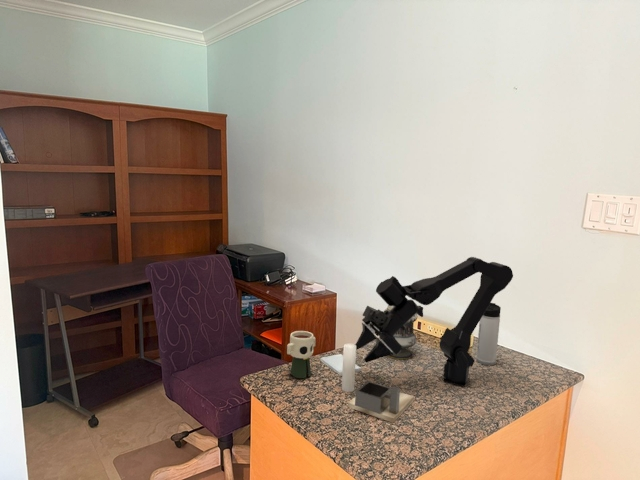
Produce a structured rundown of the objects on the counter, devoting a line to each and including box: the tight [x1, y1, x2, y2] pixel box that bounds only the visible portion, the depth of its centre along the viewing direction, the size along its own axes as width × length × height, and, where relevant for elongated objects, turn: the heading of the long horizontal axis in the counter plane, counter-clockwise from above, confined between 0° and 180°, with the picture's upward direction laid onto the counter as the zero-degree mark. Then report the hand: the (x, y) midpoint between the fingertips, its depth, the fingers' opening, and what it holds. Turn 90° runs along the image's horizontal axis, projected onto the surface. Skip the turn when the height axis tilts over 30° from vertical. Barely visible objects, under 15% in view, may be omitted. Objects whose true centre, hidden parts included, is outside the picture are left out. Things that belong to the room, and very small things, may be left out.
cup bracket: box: [354, 380, 401, 414], centre depth 116 cm, size 10×7×6 cm
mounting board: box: [347, 391, 415, 424], centre depth 120 cm, size 13×14×1 cm
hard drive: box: [319, 353, 363, 376], centre depth 144 cm, size 2×8×12 cm
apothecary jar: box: [383, 304, 419, 360], centre depth 155 cm, size 12×12×18 cm
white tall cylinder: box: [341, 343, 357, 393], centre depth 127 cm, size 4×4×13 cm
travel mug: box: [475, 302, 502, 366], centre depth 150 cm, size 6×7×20 cm
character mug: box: [286, 330, 316, 379], centre depth 135 cm, size 11×7×13 cm, turn 132°
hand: (359, 354), depth 127 cm, fingers open, 9 cm apart
